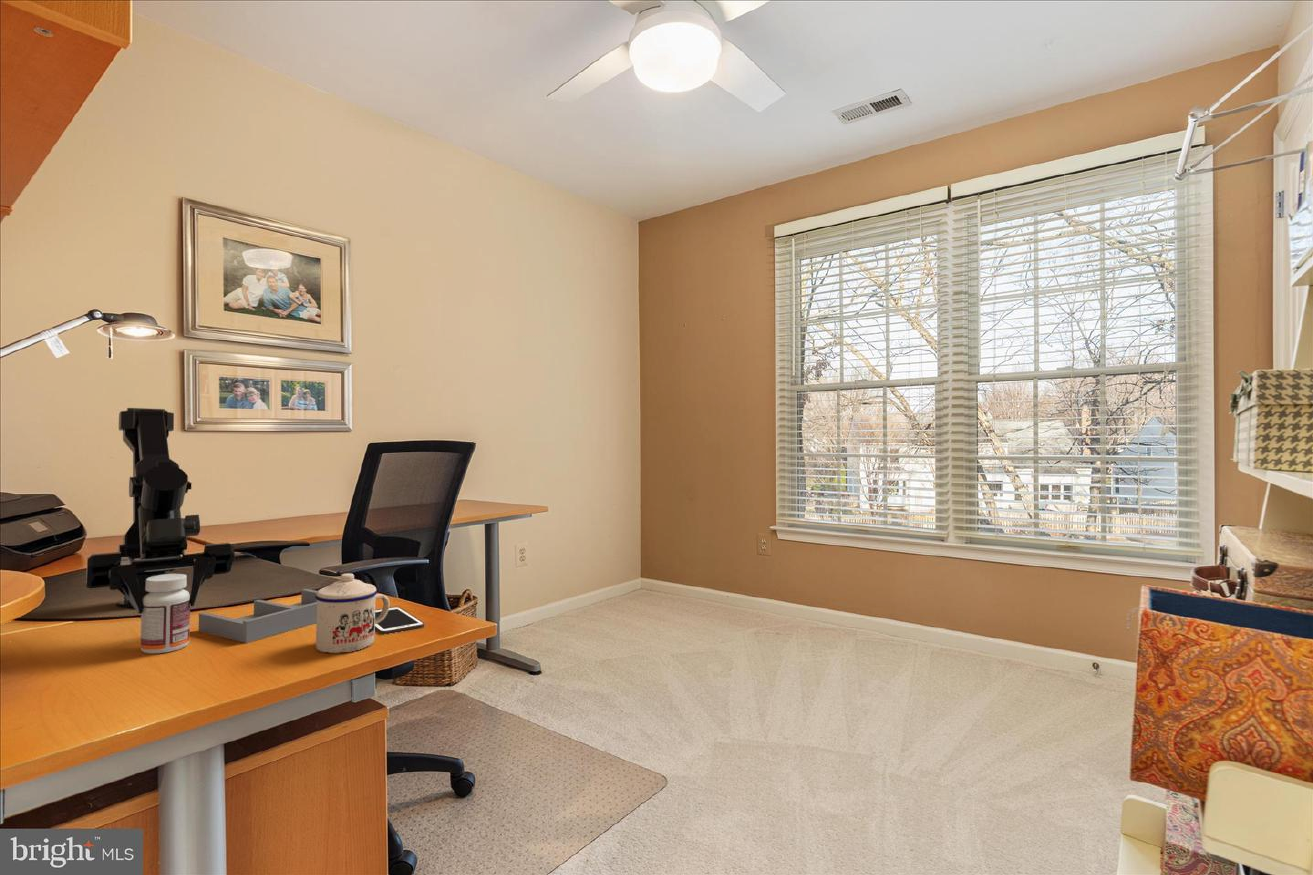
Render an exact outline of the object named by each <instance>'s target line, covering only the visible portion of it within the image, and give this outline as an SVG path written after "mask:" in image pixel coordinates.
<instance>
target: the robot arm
mask: <svg viewBox="0 0 1313 875" xmlns="http://www.w3.org/2000/svg"><path fill="white" fill-rule="evenodd" d="M174 423H175V413H174V412H172V411H170V412H169V411H168V410H166V409H164V408H145V407H144V408H143V407H127V408H126V410H121V411H120V412H119V413H118V431H122V441H123V442H124V444H125V445H126V446H127V447H128V449H129V450H130V451H131V452H132V476H129V478H128V479H129V481H128V496H129V498H132V512H133V514H132V515H133V516H132V522H133V523H132V524H131V526H129V529H128V530H126V533H125V534H124V536H123V538H122V544H119V545H118V551H115V552H114V551H113V552H105V553H102V552H101V553H92V554H91V555H89V556H88V557H87V559H86V574H85V575H86V576H85V577H86V578H85V581H86V584H85V587H86V588H87V589H88V588H89V589H98V588H106V587H108V588H109V590H111V591H116V590H117V591H118V592H119V593H120V594H122V596H124V597H123V598H124V600H123V601H118V602H115V606H116V607H117V606H118V607H127V608H134V609H135V610H136V612H137V614H138V615H139V614H140V615H141V613H142V599H143V597H144V596H145V595H147V594H149V592H148V591H146V590H145V586H146V579H147V578H149V577H152V576H157V575H164V574H167V573H166V572H174V570H177V569H188V568H192V573H191V577H190V578H191V579H190V590H189V591H190V592H189V593H190V607H194V606H195V604H196V601H197V598H198V595H199V592H200V589H201V587H202V585H203V584H204V582H205V581H206V580H210V579H212V578H213V576H215V575H216V576H217V575H223V574H227V573H230V572H231V569H232V565H233V562H234V558H235V547H234V546H233V545H232V544H231V543H229V542H222V543H221V542H220V543H208V544H204V549H203V553H195V554H186V553H185V551H187V550H188V537H195V536H196V537H197V536H199V534H200V532H201V520H200V515H199V514H191V515H189V514H188V515H185V517H182V513H181V511H182V510H181V507H182V506H184V505H183V504H184V501H185V496H186V495H187V494H188V493H189V492H188V491H189V490H192V482H190V481H189V476H188V474H187V473H186V472H185V471H184V470H183V469H181V468H180V465H179V463H177V462H176V461H174V460H172V459H171V458H170V452H169V444H168V438H169V435H170V432H174V431H175V424H174Z"/></svg>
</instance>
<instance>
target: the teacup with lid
mask: <svg viewBox="0 0 1313 875" xmlns="http://www.w3.org/2000/svg"><path fill="white" fill-rule="evenodd" d="M317 591H318V592H317V594H316V596H315V597H316V599H317V623H316V625H315V626H316V630H315V631H316V633H315V634H316V635H315V636H316V637H315V648H316V650H318V651H320V652H322V653H325V652H329V653H328V654H341V653H340V652H347V653H351V652H352V651H353V652H357V651H356V650H358V651H361V650H364V649H366V648H368V647H370V646H371V645H372V644H374V642H375V633H376V631H375V624H377V623H379V622H381V621H382V620H383V619H384V618H385V617H386V615H387V613H388V611H389V607H390V606H391V605H390V599H389V597H388V596H387V595H385V594H382V593H378V590H377V587H376V586H375V585H373V584H371V583H365V582H363V580H360V579H356V578H355V575H354V574H353V573H342V574H341V575H340V580H339V579H338V580H336V581H334V582H333V583H332V584H330V585H328V586H324V587H322V588H320V589H318V590H317ZM380 599H381V600H382V602H383V606H382V608H381V609H382V612H381V613H380V615H379V616H378V617H377V618H375V610H376V600H380ZM367 646H368V647H367ZM365 647H366V648H365ZM363 648H364V649H363ZM360 649H361V650H360Z"/></svg>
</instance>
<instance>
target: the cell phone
mask: <svg viewBox="0 0 1313 875" xmlns="http://www.w3.org/2000/svg"><path fill="white" fill-rule="evenodd" d="M382 609H383V608H375V618H377V617H378V616H379V615H380V613H381V612H382ZM423 628H425V623H424V621H422V620H421V619H419V618H417V617H416V616H415V615H414V614H411V613H409V612H408V611H406V610H405V609H403V608H402V607H400V606H391V607H390V606H389V611H388V613H387V615H386V617H385V618H384V619H383V620H382V621H381V622H379V623H377V624H375V632H377V631H378V632H379V633H381V634H387V635H390V634H389V633H393V634H396V633H395V632H398V633H402V632H401V631H403V632H407V631H408V632H409V631H414V630H419V629H423ZM378 632H377V633H378ZM379 633H378V634H379ZM381 634H380V635H381Z"/></svg>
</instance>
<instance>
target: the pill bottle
mask: <svg viewBox="0 0 1313 875" xmlns="http://www.w3.org/2000/svg"><path fill="white" fill-rule="evenodd" d="M187 586H188V583H187V574H184V573H166V574H164V575H157V576H152V577H149V578H147V579H146V586H145V590H146V591H148V592H149V594H147V595H145V596H144V597H143V599H142V613H140V650H141V652H142V653H144V654H152V655H153V654H164V653H170V652H175V651H178V650H181V649H183V648H185V647H186V646H188V645H189V644H190V635H191V634H190V633H191V632H190V630H191V629H190V628H191V626H190V625H191V624H190V623H191V604H190V592H189V591H188V590H186V589H184V588H186V587H187Z"/></svg>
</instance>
